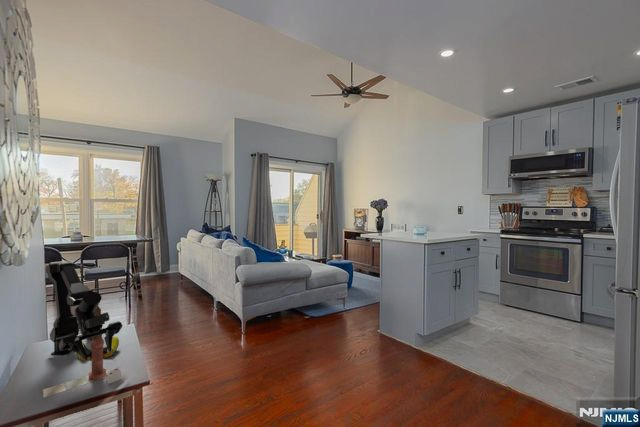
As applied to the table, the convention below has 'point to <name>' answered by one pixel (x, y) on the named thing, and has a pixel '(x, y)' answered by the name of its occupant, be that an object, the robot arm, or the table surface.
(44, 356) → the table surface
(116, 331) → the robot arm
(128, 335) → the table surface
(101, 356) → the pawn
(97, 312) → the sauce bottle
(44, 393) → the game board
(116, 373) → the die
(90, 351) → the gaming controller
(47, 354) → the table surface
